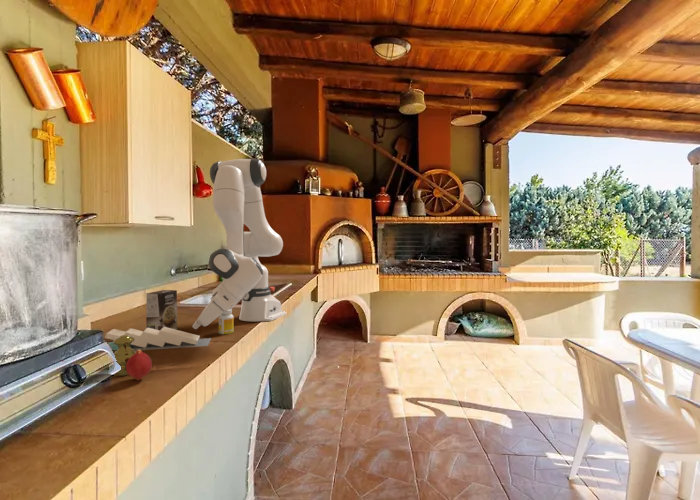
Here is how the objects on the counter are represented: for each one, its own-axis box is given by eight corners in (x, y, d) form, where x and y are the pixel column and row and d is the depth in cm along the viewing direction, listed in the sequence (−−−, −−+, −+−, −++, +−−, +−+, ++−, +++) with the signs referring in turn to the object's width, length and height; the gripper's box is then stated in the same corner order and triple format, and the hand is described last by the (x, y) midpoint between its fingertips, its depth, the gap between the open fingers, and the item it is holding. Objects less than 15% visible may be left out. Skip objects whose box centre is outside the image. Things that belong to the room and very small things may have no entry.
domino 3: (168, 337, 121) (130, 328, 117) (164, 342, 115) (125, 332, 112) (166, 342, 120) (129, 332, 117) (162, 346, 115) (123, 337, 112)
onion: (126, 377, 93) (126, 347, 93) (151, 373, 96) (151, 344, 96) (125, 386, 88) (125, 354, 88) (152, 381, 91) (151, 351, 91)
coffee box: (161, 337, 129) (160, 293, 128) (145, 336, 130) (145, 292, 129) (178, 331, 138) (177, 289, 137) (163, 330, 139) (163, 289, 138)
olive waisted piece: (102, 377, 93) (102, 340, 93) (115, 367, 100) (115, 332, 100) (133, 375, 95) (133, 338, 94) (144, 365, 102) (143, 331, 101)
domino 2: (134, 339, 118) (92, 344, 115) (128, 343, 113) (85, 349, 110) (134, 343, 118) (93, 349, 115) (129, 348, 113) (85, 354, 110)
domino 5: (200, 335, 123) (163, 326, 120) (197, 340, 118) (159, 330, 115) (198, 340, 123) (162, 331, 120) (195, 344, 118) (158, 335, 115)
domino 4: (184, 336, 122) (147, 327, 119) (181, 341, 117) (142, 331, 114) (182, 341, 122) (146, 332, 119) (179, 345, 117) (141, 336, 114)
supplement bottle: (215, 336, 131) (215, 310, 131) (223, 332, 137) (223, 307, 136) (229, 337, 131) (229, 311, 130) (236, 333, 136) (236, 308, 135)
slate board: (211, 340, 126) (211, 338, 126) (207, 348, 117) (207, 345, 117) (132, 345, 120) (132, 342, 119) (122, 354, 111) (122, 351, 111)
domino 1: (151, 338, 119) (113, 328, 116) (147, 343, 114) (106, 333, 111) (150, 342, 119) (111, 333, 116) (145, 347, 114) (105, 337, 111)
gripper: (220, 286, 131) (192, 314, 129) (214, 296, 112) (181, 328, 110) (233, 298, 133) (205, 325, 131) (229, 309, 113) (196, 341, 111)
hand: (194, 327), depth 120 cm, fingers closed
